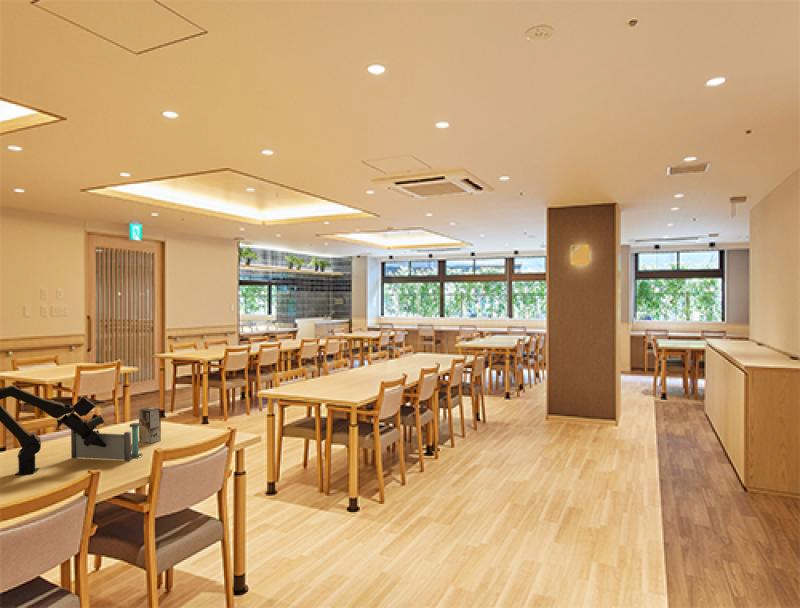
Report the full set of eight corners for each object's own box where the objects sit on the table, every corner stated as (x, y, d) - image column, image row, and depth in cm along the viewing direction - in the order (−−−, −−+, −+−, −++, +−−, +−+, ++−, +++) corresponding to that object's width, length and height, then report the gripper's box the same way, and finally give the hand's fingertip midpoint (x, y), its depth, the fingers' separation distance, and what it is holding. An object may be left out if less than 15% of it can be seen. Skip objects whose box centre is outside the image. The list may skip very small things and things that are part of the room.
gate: (69, 457, 237) (69, 428, 237) (74, 455, 240) (74, 427, 239) (128, 460, 233) (128, 431, 233) (132, 458, 235) (132, 429, 235)
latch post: (127, 457, 239) (127, 424, 239) (131, 455, 242) (131, 422, 242) (138, 457, 239) (138, 424, 238) (142, 455, 242) (142, 422, 242)
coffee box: (161, 440, 267) (161, 408, 267) (150, 443, 261) (150, 411, 261) (149, 438, 271) (149, 406, 271) (138, 441, 266) (137, 409, 265)
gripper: (93, 413, 223) (122, 436, 229) (90, 406, 239) (118, 427, 245) (70, 434, 219) (101, 457, 225) (70, 425, 235) (98, 447, 241)
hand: (105, 446), depth 234 cm, fingers closed
